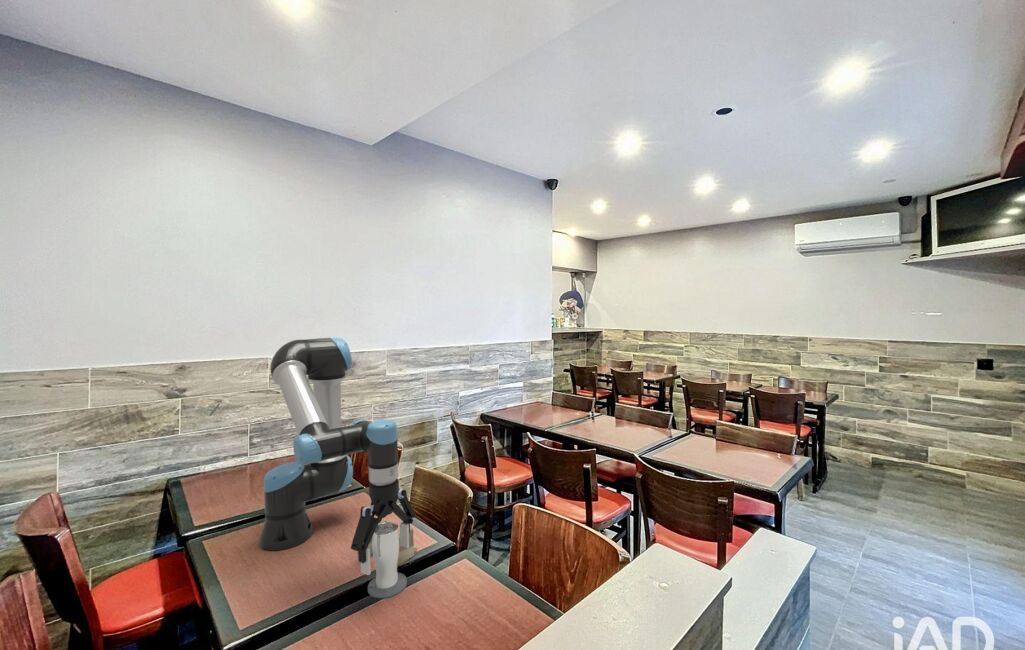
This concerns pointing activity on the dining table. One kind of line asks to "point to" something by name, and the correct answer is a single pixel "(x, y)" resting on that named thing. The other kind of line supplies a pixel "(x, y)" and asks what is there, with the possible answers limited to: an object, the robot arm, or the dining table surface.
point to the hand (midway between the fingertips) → (386, 559)
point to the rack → (401, 548)
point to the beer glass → (386, 555)
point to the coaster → (388, 593)
